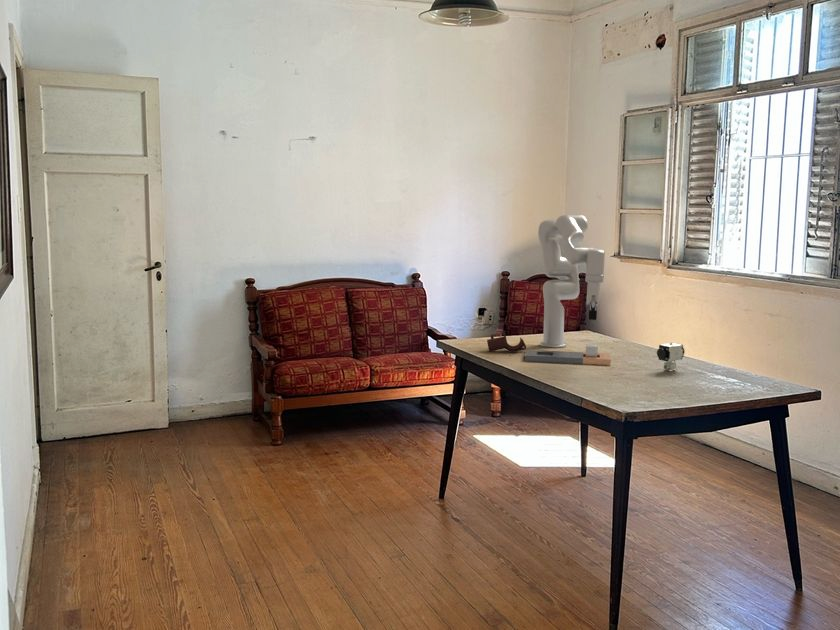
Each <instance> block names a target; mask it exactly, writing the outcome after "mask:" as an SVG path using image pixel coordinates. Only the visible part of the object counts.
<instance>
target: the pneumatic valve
mask: <svg viewBox="0 0 840 630" xmlns="http://www.w3.org/2000/svg"><path fill="white" fill-rule="evenodd" d="M684 355H685V348H684V345H683V344H681V343H678V342H677V343H676V342H672V341H670V342H669V343H662V344H659V346H658V349H656V356H657V358H658V359H657V360H659V361H663V362H664V363H663V370H664V369H665V370H673V369H677V363H676V361H681V360H683V358H684V357H685V356H684ZM665 370H664V371H665Z"/></svg>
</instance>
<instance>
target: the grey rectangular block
mask: <svg viewBox="0 0 840 630" xmlns="http://www.w3.org/2000/svg"><path fill="white" fill-rule="evenodd" d="M598 348H599V346H598V344H585V352H586V357H597V353H599V352H598V351H599V349H598Z"/></svg>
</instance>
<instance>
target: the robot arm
mask: <svg viewBox="0 0 840 630" xmlns="http://www.w3.org/2000/svg"><path fill="white" fill-rule="evenodd" d="M588 224H589V223H588V220H587V218H586V217H585V216H584V215H582V214H562V215H560V216H559V217H557V219H546V220H543V221H541V222H540V224H539V226H538V233H537V234H538V235H537V236H538V239H539V242H540V245H541V249H542V258H543V259H542V260H543V261H542V262H543V270H544V274H545V276H547V277H548V278H565V279H550V280H547V281H545V282H544V284H543V285H542V294H543V307H544V308H543V337H542V338H543V340H542V341H540V342H539V345H540V346H541V347H545V348H565V347H567V342H565V341H564V335H565V333H564V330H565V308H564V306H563V304H562V302H561V301H563V300H566V301H567V300H576V299H577V298H578V297H579V295H580V279H579V276H580V275H579V269H578V268H579V267H578V266H583V265H584V266H585V281H584V282H585V283H587V285H586V287H587V288H586V305H587V306H589V307H588V320H592V321H596V320H597V315H598V314H597V313H598V312H597V311H598V310H597V306H598V305H599V301H600V293H601V283H604V273H605V255H606V254H605V251H604V250H603V249H598V248H596V247H577V246H579V245H580V244H581V243H582V242H583V240H584V233H586V231H587V230H588ZM554 238H555V239H554ZM556 238H560V239H561V238H562V239H563V240H564V241H563V243H562V250H561V246H560V244H559V243H558V242H557V240H556ZM561 252H563V256H564V257H563V256H562V253H561Z"/></svg>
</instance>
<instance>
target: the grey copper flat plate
mask: <svg viewBox="0 0 840 630" xmlns="http://www.w3.org/2000/svg"><path fill="white" fill-rule="evenodd" d="M526 351H527V352H526V353H525V357H524V358H525V359H524V360H525V362H532V363H533V362H535V363H536V362H537V363H550V362H553V363H555V364H571V363H576V364H577V365H591V364H597V365H596V366H612V365H611V363H612V361H611V360H612V357H611V353H605V352H598V353H597V357H586V351H585V352H584V351H583V352H582V351H562V350H561V351H560V350H542V349H527V350H526ZM553 363H552V364H553ZM576 364H575V365H576Z"/></svg>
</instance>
